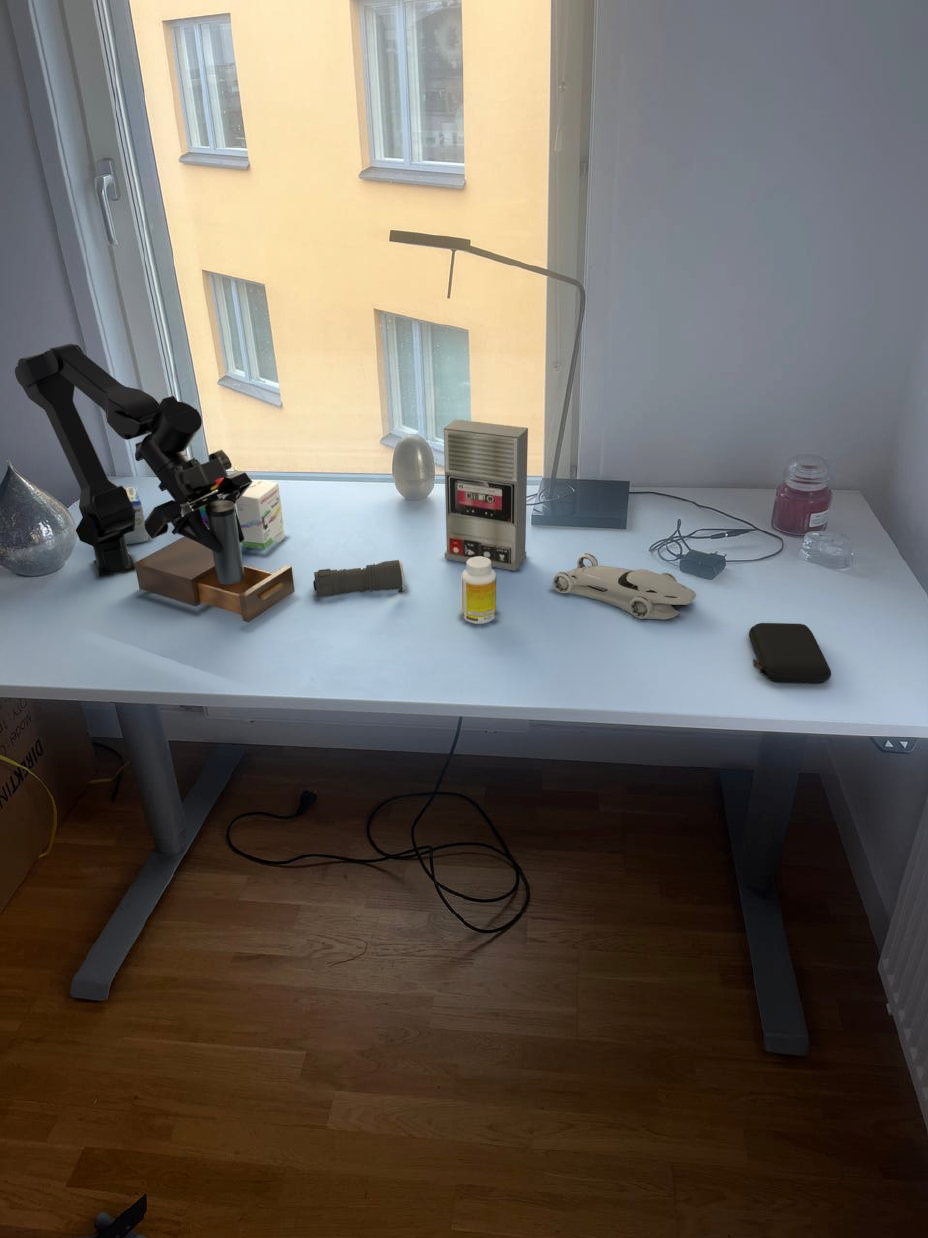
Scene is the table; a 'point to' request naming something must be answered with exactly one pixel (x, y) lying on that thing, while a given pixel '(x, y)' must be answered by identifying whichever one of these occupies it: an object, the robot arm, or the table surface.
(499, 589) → the table surface
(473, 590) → the supplement bottle
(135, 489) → the medicine box
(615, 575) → the car model
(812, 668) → the carrying case
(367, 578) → the flashlight
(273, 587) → the drawer
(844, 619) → the table surface
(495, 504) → the cassette tape recorder
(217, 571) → the canister
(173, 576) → the drawer unit
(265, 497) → the ink box
